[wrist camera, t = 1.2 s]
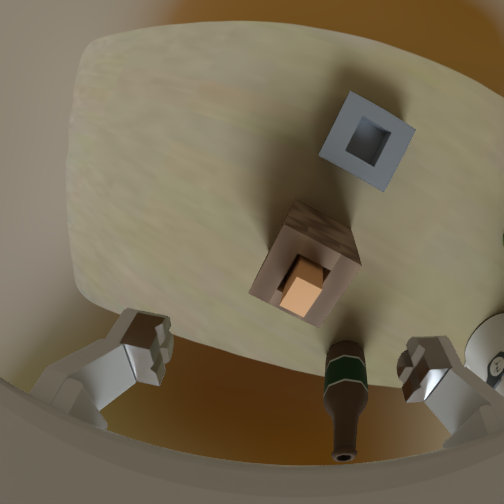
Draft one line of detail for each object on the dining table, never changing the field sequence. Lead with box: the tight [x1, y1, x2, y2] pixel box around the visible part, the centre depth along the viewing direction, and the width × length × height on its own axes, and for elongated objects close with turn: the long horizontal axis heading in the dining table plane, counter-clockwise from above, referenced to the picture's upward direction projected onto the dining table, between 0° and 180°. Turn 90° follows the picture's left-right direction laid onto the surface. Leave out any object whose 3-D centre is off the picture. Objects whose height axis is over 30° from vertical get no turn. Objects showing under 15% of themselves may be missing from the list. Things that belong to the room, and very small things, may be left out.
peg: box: [280, 254, 323, 317], centre depth 33 cm, size 3×4×8 cm
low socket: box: [318, 91, 416, 192], centre depth 36 cm, size 10×10×6 cm
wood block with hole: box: [249, 200, 362, 328], centre depth 40 cm, size 10×10×14 cm
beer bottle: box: [324, 341, 368, 462], centre depth 42 cm, size 8×8×24 cm
